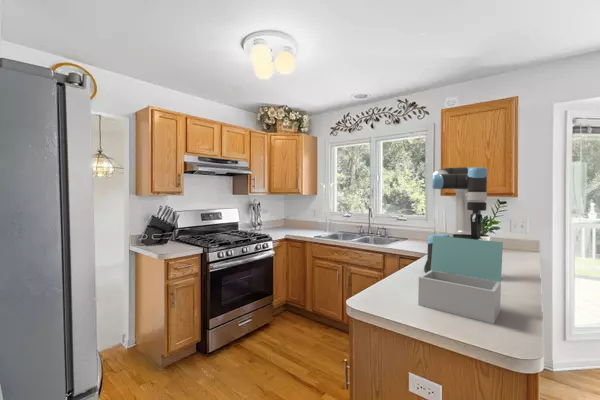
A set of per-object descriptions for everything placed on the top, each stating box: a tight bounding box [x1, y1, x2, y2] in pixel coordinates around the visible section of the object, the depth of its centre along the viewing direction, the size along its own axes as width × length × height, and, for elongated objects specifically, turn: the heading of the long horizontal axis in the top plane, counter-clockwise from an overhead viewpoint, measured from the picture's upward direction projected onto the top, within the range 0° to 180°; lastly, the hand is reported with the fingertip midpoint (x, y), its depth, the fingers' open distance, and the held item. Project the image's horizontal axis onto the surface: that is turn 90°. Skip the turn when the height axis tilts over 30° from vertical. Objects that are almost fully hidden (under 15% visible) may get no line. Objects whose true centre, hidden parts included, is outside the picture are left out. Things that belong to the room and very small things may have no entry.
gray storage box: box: [417, 270, 502, 325], centre depth 121 cm, size 16×27×12 cm, turn 49°
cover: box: [431, 236, 504, 283], centre depth 128 cm, size 16×27×2 cm
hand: (475, 253), depth 133 cm, fingers closed
